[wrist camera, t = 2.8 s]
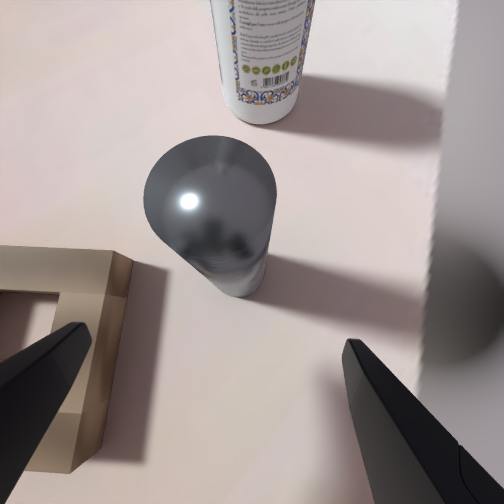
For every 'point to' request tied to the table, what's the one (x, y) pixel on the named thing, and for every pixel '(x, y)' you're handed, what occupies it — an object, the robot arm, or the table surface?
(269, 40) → the bath foam
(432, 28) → the table surface
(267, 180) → the grey metal cylinder
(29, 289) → the holder block
